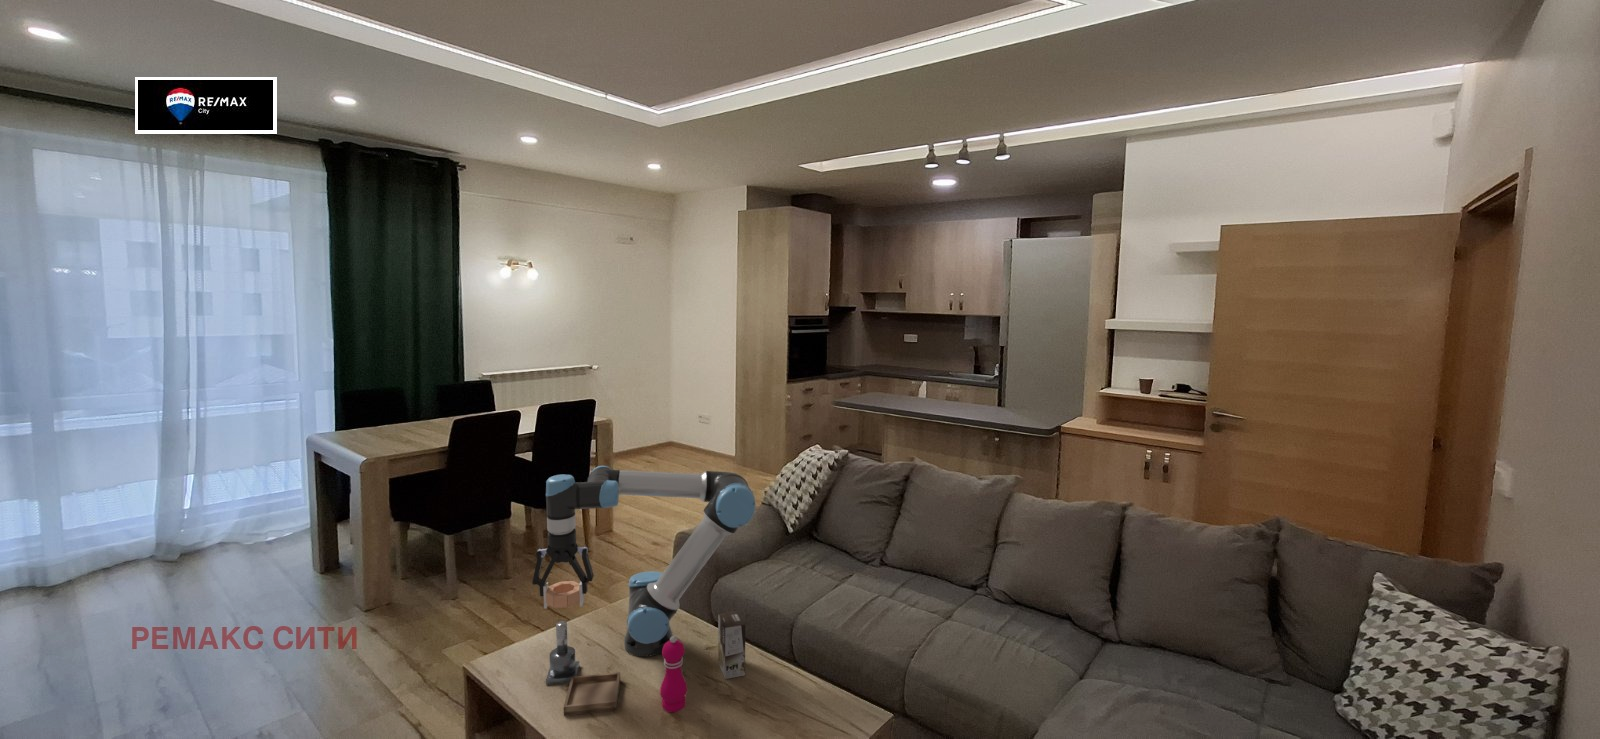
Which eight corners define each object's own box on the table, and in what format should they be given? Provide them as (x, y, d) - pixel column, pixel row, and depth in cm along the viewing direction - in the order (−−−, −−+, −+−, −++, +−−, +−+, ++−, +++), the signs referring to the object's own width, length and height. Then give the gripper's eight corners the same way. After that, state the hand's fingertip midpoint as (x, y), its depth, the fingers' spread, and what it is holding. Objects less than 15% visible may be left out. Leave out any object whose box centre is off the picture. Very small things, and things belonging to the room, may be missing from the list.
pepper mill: (674, 717, 168) (673, 646, 166) (654, 707, 172) (653, 638, 170) (692, 702, 175) (692, 634, 172) (673, 693, 178) (672, 626, 176)
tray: (620, 680, 184) (620, 672, 183) (616, 710, 171) (615, 701, 170) (571, 684, 181) (571, 676, 181) (563, 715, 168) (563, 707, 168)
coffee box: (745, 675, 187) (746, 624, 185) (724, 679, 185) (724, 627, 183) (738, 658, 196) (738, 609, 194) (717, 662, 193) (717, 612, 191)
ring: (577, 606, 178) (577, 594, 178) (543, 608, 177) (543, 596, 176) (583, 591, 187) (582, 580, 186) (551, 593, 185) (550, 582, 185)
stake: (579, 665, 190) (577, 615, 188) (575, 681, 183) (573, 629, 181) (551, 668, 189) (549, 617, 187) (545, 684, 181) (544, 632, 179)
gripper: (603, 523, 184) (605, 596, 187) (524, 526, 181) (527, 601, 184) (599, 533, 177) (601, 609, 180) (517, 536, 174) (520, 614, 176)
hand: (564, 605), depth 182 cm, fingers closed on ring, 9 cm apart
